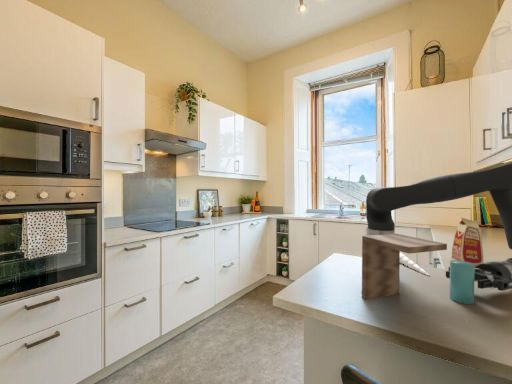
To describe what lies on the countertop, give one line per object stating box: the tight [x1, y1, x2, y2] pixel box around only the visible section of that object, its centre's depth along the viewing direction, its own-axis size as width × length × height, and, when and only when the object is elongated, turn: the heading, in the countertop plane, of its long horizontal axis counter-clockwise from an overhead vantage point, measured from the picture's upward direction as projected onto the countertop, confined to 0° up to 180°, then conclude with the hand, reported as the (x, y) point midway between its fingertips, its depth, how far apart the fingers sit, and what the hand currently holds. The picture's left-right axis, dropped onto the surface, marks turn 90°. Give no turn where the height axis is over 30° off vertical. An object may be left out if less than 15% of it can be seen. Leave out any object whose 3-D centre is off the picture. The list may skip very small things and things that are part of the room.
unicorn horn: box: [400, 251, 430, 277], centre depth 106 cm, size 5×24×5 cm, turn 177°
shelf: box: [361, 233, 448, 300], centre depth 70 cm, size 13×16×18 cm
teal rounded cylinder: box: [449, 259, 476, 305], centre depth 74 cm, size 6×6×11 cm
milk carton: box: [450, 217, 484, 266], centre depth 113 cm, size 9×9×20 cm
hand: (462, 279), depth 74 cm, fingers open, 8 cm apart
